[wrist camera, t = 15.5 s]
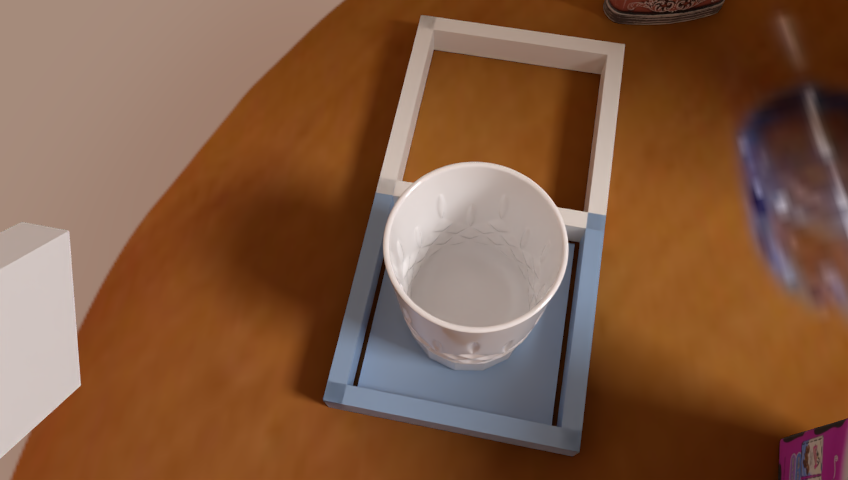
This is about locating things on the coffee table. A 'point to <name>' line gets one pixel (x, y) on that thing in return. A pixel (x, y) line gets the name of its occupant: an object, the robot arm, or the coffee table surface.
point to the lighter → (659, 10)
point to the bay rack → (540, 352)
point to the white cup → (474, 261)
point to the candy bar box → (815, 454)
